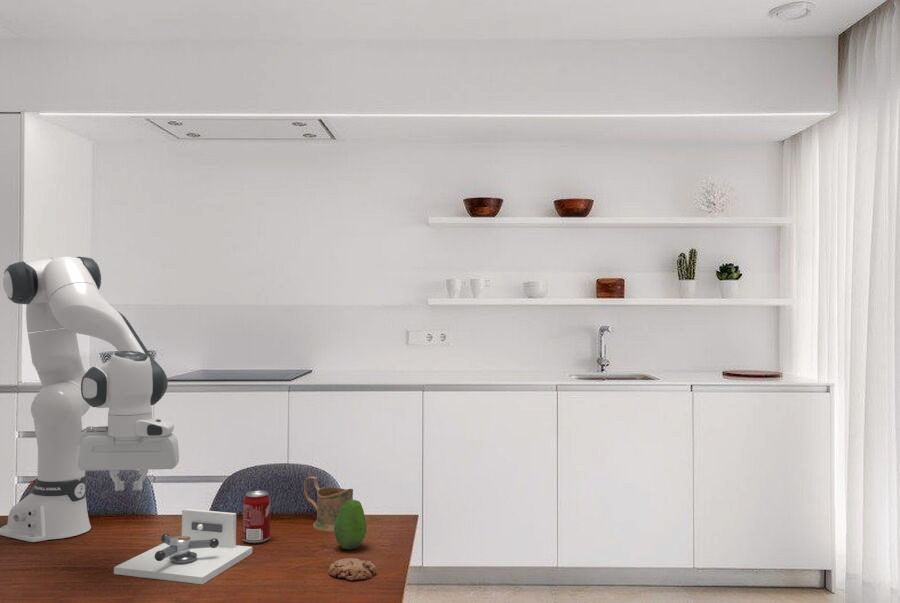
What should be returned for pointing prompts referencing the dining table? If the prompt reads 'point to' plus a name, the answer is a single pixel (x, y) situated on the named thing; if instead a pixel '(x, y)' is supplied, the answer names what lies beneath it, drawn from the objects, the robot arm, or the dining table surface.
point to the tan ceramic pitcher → (327, 504)
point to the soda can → (256, 517)
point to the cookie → (352, 569)
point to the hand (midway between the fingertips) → (128, 490)
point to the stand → (208, 559)
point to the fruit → (350, 525)
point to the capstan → (182, 548)
